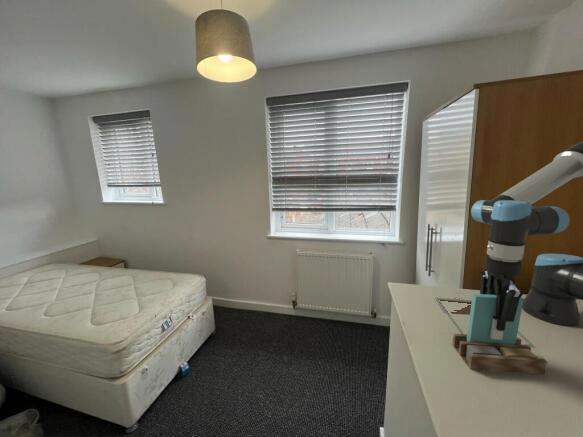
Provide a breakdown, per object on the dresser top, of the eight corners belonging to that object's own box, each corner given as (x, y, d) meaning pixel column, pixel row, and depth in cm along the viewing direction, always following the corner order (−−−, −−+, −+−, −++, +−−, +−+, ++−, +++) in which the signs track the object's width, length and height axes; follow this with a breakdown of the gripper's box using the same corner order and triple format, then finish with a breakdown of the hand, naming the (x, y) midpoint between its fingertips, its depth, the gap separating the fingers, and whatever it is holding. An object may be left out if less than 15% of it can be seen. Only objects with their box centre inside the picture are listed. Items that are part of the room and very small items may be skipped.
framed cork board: (465, 340, 78) (432, 294, 107) (465, 344, 78) (432, 297, 107) (537, 348, 74) (482, 298, 103) (536, 352, 74) (482, 301, 103)
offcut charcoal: (492, 359, 70) (494, 346, 69) (499, 367, 67) (501, 354, 66) (465, 357, 71) (467, 344, 70) (471, 365, 68) (473, 352, 67)
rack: (516, 352, 74) (518, 337, 73) (543, 378, 64) (547, 361, 64) (451, 347, 76) (453, 333, 75) (469, 372, 67) (471, 356, 66)
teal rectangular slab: (509, 352, 72) (518, 295, 69) (513, 355, 71) (523, 298, 68) (465, 349, 74) (472, 293, 71) (468, 352, 72) (476, 296, 69)
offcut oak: (525, 361, 69) (527, 348, 68) (534, 369, 66) (537, 356, 65) (498, 359, 70) (500, 347, 69) (505, 367, 67) (508, 354, 66)
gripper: (471, 248, 75) (462, 317, 80) (510, 268, 60) (496, 353, 64) (498, 248, 74) (487, 318, 79) (544, 269, 59) (528, 355, 63)
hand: (491, 334), depth 71 cm, fingers open, 3 cm apart
